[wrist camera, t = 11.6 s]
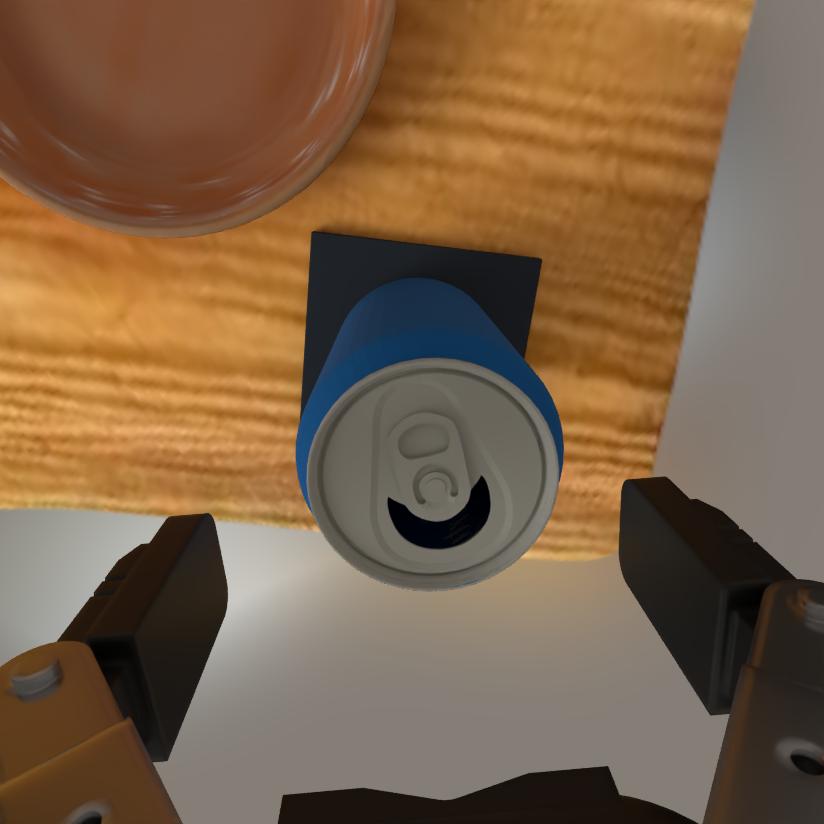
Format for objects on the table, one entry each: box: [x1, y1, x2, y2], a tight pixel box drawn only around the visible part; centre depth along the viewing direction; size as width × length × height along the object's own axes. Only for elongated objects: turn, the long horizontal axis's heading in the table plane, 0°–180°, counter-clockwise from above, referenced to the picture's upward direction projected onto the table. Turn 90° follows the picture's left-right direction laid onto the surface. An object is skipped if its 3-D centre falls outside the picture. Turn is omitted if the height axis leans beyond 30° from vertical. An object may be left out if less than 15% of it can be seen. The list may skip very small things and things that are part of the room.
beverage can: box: [296, 278, 564, 592], centre depth 19 cm, size 6×6×12 cm
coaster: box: [300, 231, 542, 421], centre depth 25 cm, size 9×9×1 cm
